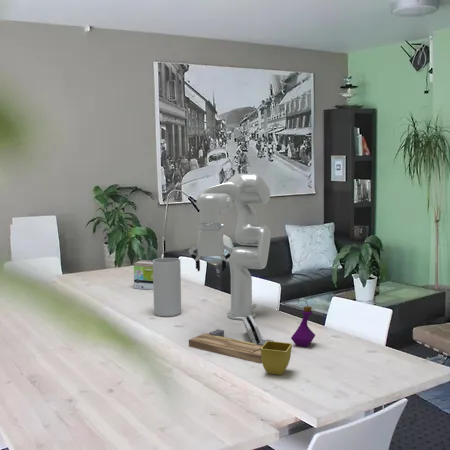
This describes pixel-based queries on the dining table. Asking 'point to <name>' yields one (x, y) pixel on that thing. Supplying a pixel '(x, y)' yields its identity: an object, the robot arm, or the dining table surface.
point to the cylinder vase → (167, 286)
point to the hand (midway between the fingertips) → (211, 270)
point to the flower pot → (275, 356)
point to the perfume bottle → (304, 329)
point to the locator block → (217, 333)
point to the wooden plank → (228, 347)
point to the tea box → (143, 275)
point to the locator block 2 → (264, 342)
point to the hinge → (252, 330)
